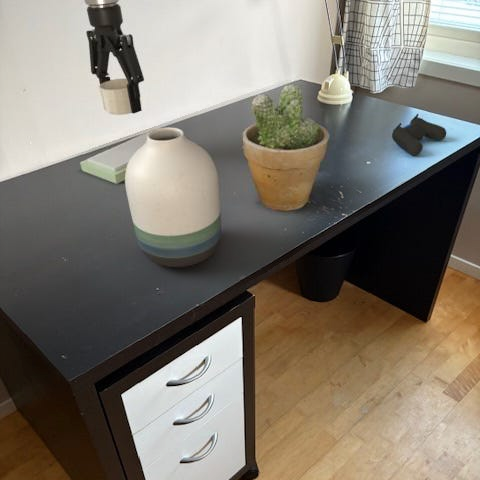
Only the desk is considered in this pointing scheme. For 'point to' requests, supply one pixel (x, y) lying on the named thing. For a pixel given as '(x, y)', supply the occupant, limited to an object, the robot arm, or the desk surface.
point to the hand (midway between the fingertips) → (123, 108)
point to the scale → (113, 160)
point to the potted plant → (283, 150)
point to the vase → (174, 199)
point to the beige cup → (115, 96)
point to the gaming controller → (416, 134)
